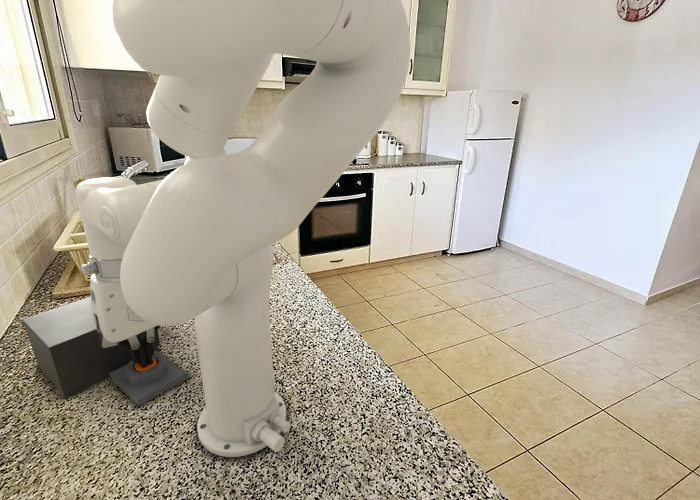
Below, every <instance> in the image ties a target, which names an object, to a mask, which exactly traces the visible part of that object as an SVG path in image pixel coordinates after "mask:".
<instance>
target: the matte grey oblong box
mask: <svg viewBox="0 0 700 500" xmlns="http://www.w3.org/2000/svg"><path fill="white" fill-rule="evenodd" d="M21 321H22V323H23V325H24V328H25V331H26V332H25V333H26V335H27V337H28V340H29V343H30V346H31V349H32V352H33V354H34V357H35V360H36V363H37V366H38V367H39V369H40V370H41V371H42V372H43V374H44V375H45V376H46V377H47V378H48V379H49V381H50V382H51V383H52V384H53V386H54V387H55V388H56V389H57V390H58V392H59V393H60V394H61V396H63V398H64V399H67V398H69V397H71V396H73V395H75V394H77V393H79V392H81V391H83V390H85V389H87V388H88V387H91V386H93V385H96V384H98V383H100V382H101V381H103V380H106V379H107V378H110V375H109V373H111V372H113V371H115V370H117V369H119V368H121V367H123V366H125V365H127V364H128V363H129V362H130V361H131V356H130V351H129V347H126V346H123V345H120V344H118V345H116V346H112V347H107V348H103V347H102V346H101V345H100V344H99V332H98V331H97V330H96V327H95V323H94V319H93V313H92V306H91V296H89V297H86V298H82V299H79V300H76V301H73V302H70V303H67V304H63V305H61V306H58V307H55V308H53V309H49V310H46V311H42V312H40V313H37V314H34V315H31V316H27V317H25V318H22V320H21ZM136 337H137V338H138V337H139V334H137V335H136ZM152 346H153V351H157V350H156V349H157V348H155V344H154V340H153V342H152Z"/></svg>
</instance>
